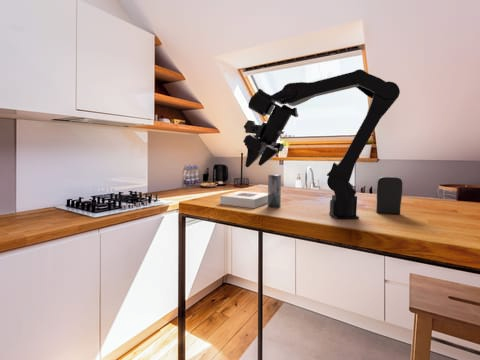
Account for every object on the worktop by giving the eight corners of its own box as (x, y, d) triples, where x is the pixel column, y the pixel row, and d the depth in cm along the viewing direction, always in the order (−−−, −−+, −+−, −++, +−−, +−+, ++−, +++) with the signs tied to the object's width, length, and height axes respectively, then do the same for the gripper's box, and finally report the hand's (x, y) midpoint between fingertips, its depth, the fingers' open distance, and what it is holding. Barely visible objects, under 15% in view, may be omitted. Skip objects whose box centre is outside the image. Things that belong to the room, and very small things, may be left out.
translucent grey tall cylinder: (279, 205, 97) (279, 174, 96) (281, 207, 93) (282, 175, 92) (266, 205, 97) (267, 174, 96) (268, 207, 93) (269, 175, 92)
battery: (399, 212, 86) (401, 176, 85) (401, 215, 83) (403, 177, 81) (374, 210, 89) (376, 175, 87) (375, 213, 85) (377, 176, 84)
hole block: (271, 201, 104) (271, 193, 104) (254, 208, 92) (254, 199, 92) (240, 198, 111) (240, 190, 111) (220, 203, 99) (220, 195, 99)
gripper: (268, 114, 96) (248, 153, 101) (241, 108, 80) (220, 153, 85) (294, 130, 92) (271, 169, 97) (271, 126, 76) (246, 173, 81)
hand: (253, 165), depth 90 cm, fingers open, 9 cm apart
